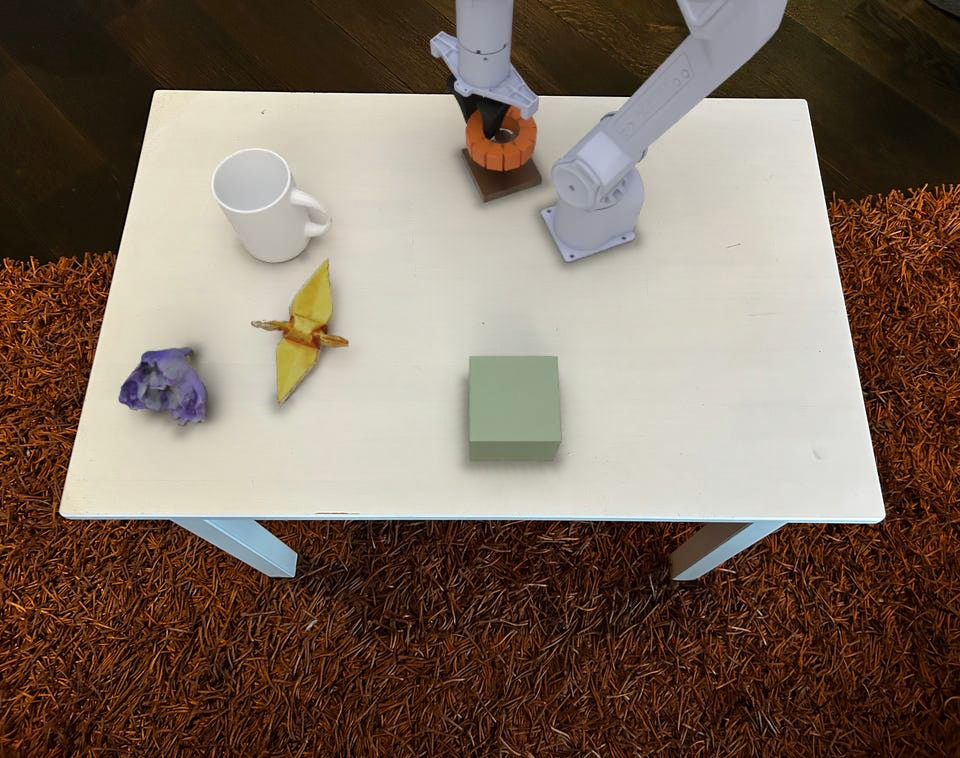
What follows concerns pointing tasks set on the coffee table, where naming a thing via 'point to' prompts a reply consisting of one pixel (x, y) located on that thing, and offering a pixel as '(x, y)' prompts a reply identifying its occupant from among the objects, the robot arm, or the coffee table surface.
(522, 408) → the block
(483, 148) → the ring
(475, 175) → the stand
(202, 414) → the purple lumpy chunk
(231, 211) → the mug
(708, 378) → the coffee table surface
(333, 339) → the origami crane
